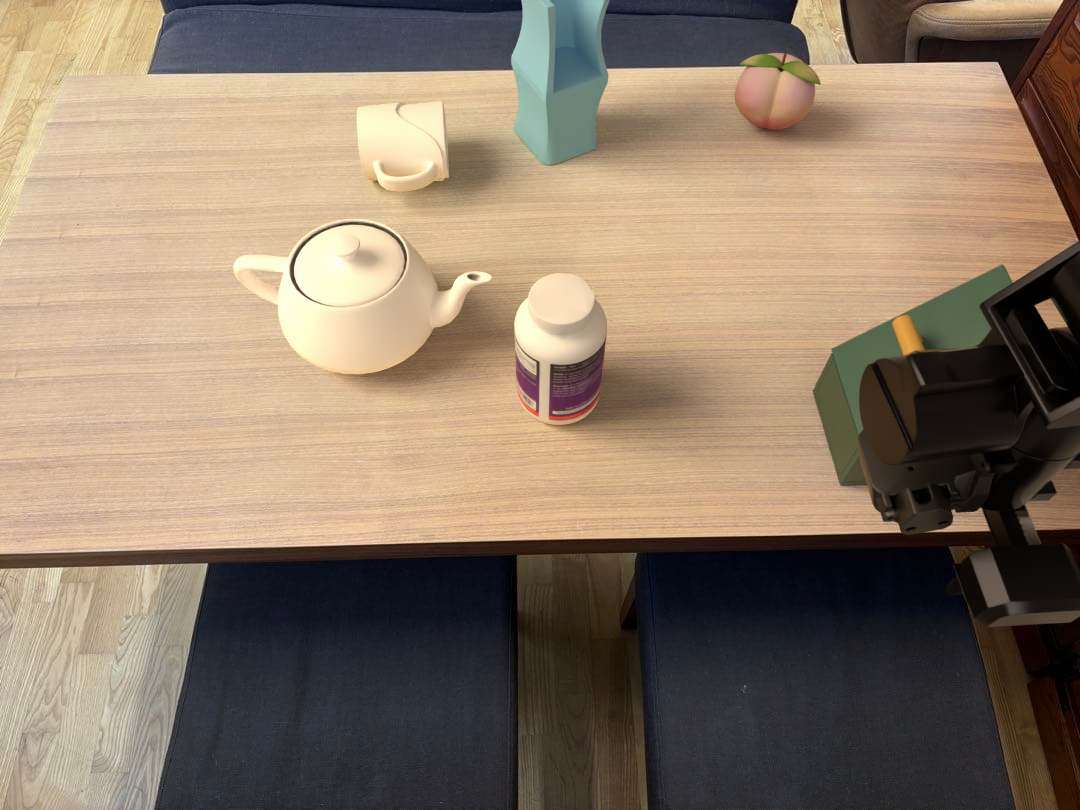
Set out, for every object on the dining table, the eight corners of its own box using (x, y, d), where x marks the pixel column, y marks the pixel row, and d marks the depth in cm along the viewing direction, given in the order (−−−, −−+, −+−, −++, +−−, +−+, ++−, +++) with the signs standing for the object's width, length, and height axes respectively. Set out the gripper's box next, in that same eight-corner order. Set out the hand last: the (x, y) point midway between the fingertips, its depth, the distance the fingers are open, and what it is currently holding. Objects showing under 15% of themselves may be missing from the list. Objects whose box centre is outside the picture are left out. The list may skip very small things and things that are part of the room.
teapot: (229, 376, 83) (187, 294, 72) (277, 258, 91) (245, 170, 81) (482, 406, 81) (475, 326, 71) (507, 283, 90) (504, 196, 79)
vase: (544, 168, 99) (547, 8, 82) (512, 129, 103) (509, -32, 86) (602, 146, 101) (616, -14, 85) (568, 109, 105) (576, -52, 88)
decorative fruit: (806, 110, 105) (830, 37, 97) (800, 154, 101) (824, 81, 93) (731, 97, 107) (748, 24, 98) (721, 139, 102) (738, 66, 94)
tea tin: (956, 383, 83) (985, 345, 78) (994, 477, 78) (1027, 442, 72) (812, 390, 82) (831, 353, 77) (839, 485, 77) (862, 451, 72)
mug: (368, 143, 101) (357, 86, 95) (447, 139, 102) (441, 82, 95) (367, 215, 95) (354, 159, 88) (451, 211, 95) (445, 154, 89)
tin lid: (1005, 267, 69) (986, 241, 66) (1056, 372, 63) (1037, 348, 60) (834, 351, 77) (810, 331, 74) (865, 450, 72) (841, 433, 69)
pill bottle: (609, 373, 83) (623, 275, 71) (585, 439, 79) (595, 347, 67) (532, 351, 85) (532, 251, 73) (504, 415, 81) (499, 320, 68)
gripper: (854, 297, 53) (792, 427, 66) (951, 581, 43) (855, 668, 56) (1029, 288, 53) (933, 419, 66) (1166, 568, 43) (1020, 657, 56)
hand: (931, 531), depth 61 cm, fingers open, 9 cm apart
